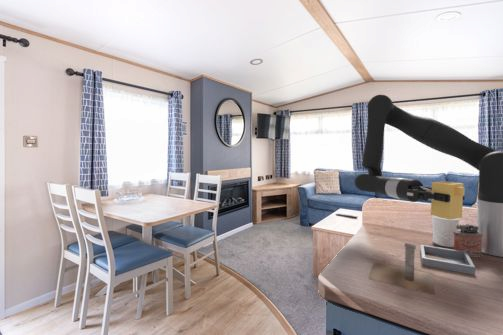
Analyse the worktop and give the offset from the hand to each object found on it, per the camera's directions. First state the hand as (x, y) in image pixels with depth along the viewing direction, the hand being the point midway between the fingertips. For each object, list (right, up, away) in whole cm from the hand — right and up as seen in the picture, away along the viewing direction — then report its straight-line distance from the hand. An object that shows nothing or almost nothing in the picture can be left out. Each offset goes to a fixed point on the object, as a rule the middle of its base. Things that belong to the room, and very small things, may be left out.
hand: (456, 197), depth 69 cm
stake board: (-18, -21, -4) cm, 29 cm away
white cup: (+12, -19, +20) cm, 30 cm away
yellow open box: (-1, -6, +3) cm, 7 cm away
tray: (0, -21, +4) cm, 21 cm away
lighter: (+12, -20, +10) cm, 26 cm away
